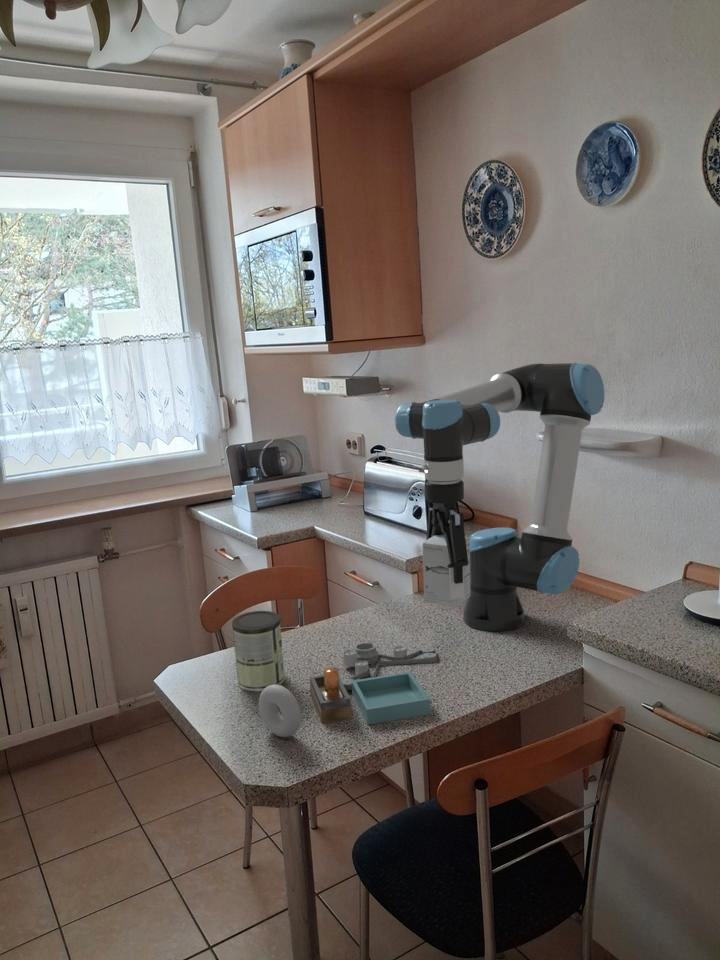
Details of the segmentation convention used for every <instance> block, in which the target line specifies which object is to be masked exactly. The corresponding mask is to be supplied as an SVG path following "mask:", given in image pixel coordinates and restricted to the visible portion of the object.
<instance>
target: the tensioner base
mask: <svg viewBox="0 0 720 960" xmlns="http://www.w3.org/2000/svg"><path fill="white" fill-rule="evenodd" d="M338 676H339V690H340V692H341V694H342V696H343V698H338V699H332V700H326V701H324V700H323V697H322V692H324V691H325V683H324V674H322V675H313V676H309V692H310V693H309V694H310V698H311V700H312V702H313V705H314V707H315V710H316V712H317V715H318V717H319V720H320V723H321V724H324V723H330V722H334V721H335V722H337V721H340V720H341V721H342V720H347V719H352V718H353V715H352V714H353V712H352V705H351V697H350V695H349V693H348V690H346V689H345V687H344V685H343V683H342V681H341V680H342V679H341V677H340V675H339V674H338Z"/></svg>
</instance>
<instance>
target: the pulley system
mask: <svg viewBox="0 0 720 960" xmlns="http://www.w3.org/2000/svg"><path fill="white" fill-rule="evenodd" d="M392 651H393V652H392V653H393V656H391V655H385V654H380V653H379V651H377V644H375V643H373V642H372V643H371V642H362V643H358V644H356V645H355V646H354V650H353V649H352V650H350V649H349V650H346V651H343V652H342V664H343V666H345V667H348V668H350V667H353V668H355V669H354V671H355V675H354V676H352V677H349V678H344V679H341V681H342V683H343V685H344V687H345V689H346V691H350V690H352V682H351V681H354V680H360V679H363V678H366V677H369V675H370V674H371V672H370V669H369V665H371V664H374V663H377V665H376V667H375V669H374V670H373V671H374V672H373V674H372V677H371V678H373V677H376V675H377V673H378V670H379V667H381V666H390V665H391V666H392V665H393V666H394V665H404V664H405V665H406V664H423V663H430V664H431V663H435V662H436V661H438V656H437V651H436V649H435V648H434V647H431V646H427V647H422V648H421V649H420V650H417V651H415V652H413V653H409V654H408V648H407V647H405V646H401V645H398V646H395V647H393V649H392ZM421 653H422V656H423V657H422V658H413V657H415V656H417V655H420V654H421ZM379 657H380V658H381V659H382V658H383V659H386V660H384V661H383V660H382V661H379V662H378V659H379Z"/></svg>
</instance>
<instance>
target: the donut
mask: <svg viewBox="0 0 720 960" xmlns="http://www.w3.org/2000/svg"><path fill="white" fill-rule="evenodd" d="M260 692H261V693H260V695H259V699H258V709H259V714H260V717H261V719H262V721H263V723H264V724H265V726H266V728H267V729H268V730H269V731H270V732H271V733H272V734H274V735H275V736H277V737H280V738H289V737H292V736H293V735H295V734H296V733H297V732H298V731H299V729H300V726H301V724H302V723H301V721H302V714H301V708H300V704H299V702H298V701H297V699H296V698H295V696H294V694H293V693H292V692H291V691H290V690H289V689H287V688H286V687H285V686H283V685H282V684H281V685H276V684H273V685H270V686H267V687H266V688H265V689H264V690H263V691H260ZM279 710H280V711H279Z"/></svg>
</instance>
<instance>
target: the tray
mask: <svg viewBox="0 0 720 960" xmlns="http://www.w3.org/2000/svg"><path fill="white" fill-rule="evenodd" d="M351 682H352V689H351V694H352V697H353V699H354V701H355V703H356V704H357V707H358V709H359V711H360V713H361V715H362V717H363V718H364V721H365V723H366V725H368V726H369V725H374V724H380V723H384V722H385V723H387V722H390V721H397V720H403V719H407V718H409V719H410V718H414V717H420V716H425V715H431V698H430V697H429V695H428V694H427V693H426V692H425V690H424V688H423V687H422V686H421V684H420V683H419V682H418V680H417V679H416V677H415V676H414V674H413V673H412V671H407V672H399V673H393V674H387V675H380V676H375V677H373V678H372V677H368V678H360V679H357V680H354V681H351Z"/></svg>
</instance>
